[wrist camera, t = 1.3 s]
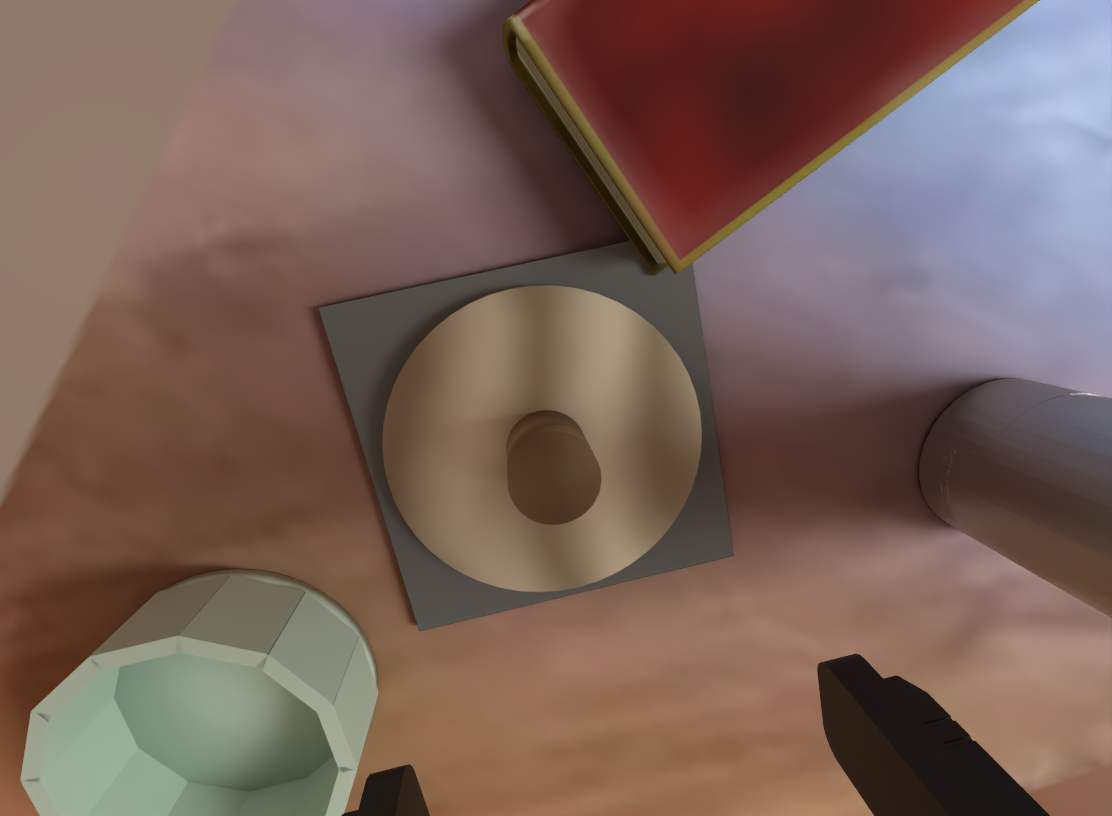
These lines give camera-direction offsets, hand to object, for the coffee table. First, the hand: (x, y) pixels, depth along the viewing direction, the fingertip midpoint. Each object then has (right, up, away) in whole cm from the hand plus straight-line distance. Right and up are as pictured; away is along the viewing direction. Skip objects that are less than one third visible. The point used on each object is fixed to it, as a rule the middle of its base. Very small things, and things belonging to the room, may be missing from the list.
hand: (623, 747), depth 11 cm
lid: (-2, +5, +19) cm, 19 cm away
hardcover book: (+8, +24, +15) cm, 30 cm away
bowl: (-18, -9, +21) cm, 29 cm away
